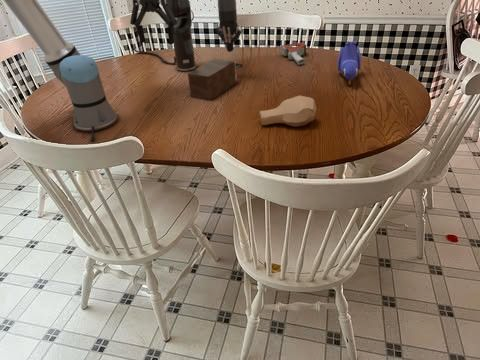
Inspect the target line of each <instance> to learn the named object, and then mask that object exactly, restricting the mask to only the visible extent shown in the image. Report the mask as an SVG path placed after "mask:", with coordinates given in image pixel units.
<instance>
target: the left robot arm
mask: <svg viewBox="0 0 480 360" xmlns="http://www.w3.org/2000/svg"><path fill="white" fill-rule="evenodd" d="M2 1H3V2H4V3H5V5H6V6H7V7H8V8H9V10H10V11H11V12H12V14H13V15H14V16H15V18H16V19H17V20H18V21H19V23H20V24H21V26H22V27H23V28H24V29H25V30H26V32H27V33H28V34H29V36H30V37H31V38H32V39H33V40H34V42H35V44H37V46H38V47H39V48H40V50H41V51H42V53H43V54H44V59H43V61H44V62H45V64H46V65H47V66H48V67H49V69H50V70H51V71H52V73H53V75H54V77H56V79H57V80H58V81H59V82H61V83H62V85H64V86H65V88H66V90H67V93H68V96H69V99H70V101H71V104H72V108H73V114H72V117H73V118H72V119H73V125H74V128H75V129H76V131H78V132H84V133H91V137H90V138H91V139H90V142H93V141H94V139H95V138H94V136H95V134H94V133H95V132H99V131H102V130H105V129H107V128H110V127H111V126H113V125H115V124H116V122H117V121H118V116H117V113H116V111H115V110H114V108H113V107H112V105H111V103H110V102H109V101H108V99H107V96H106V92H105V89H104V87H103V86H104V85H103V83H102V79H101V75H100V71H99V66H98V64H97V62H96V60H95V59H94V58H93V57H91V56H89V55H83V54H81V53H80V52H79V50H78V48H77V47H76V46H75V45H74V43H72V42H69V41H67V40H66V39H65V38H64V36H63V35H62V34H61V33H60V31H59V29H58V28H57V27H56V25H55V23H54V22H53V21H52V19H51V18H50V17H49V15H48V14H47V13H46V11H45V9H44V8H43V7H42V5H41V4H40V2H39V1H38V0H2ZM140 6H141V8H140ZM139 8H140V11H139ZM165 12H166V13H165ZM147 13H156V14H157V15H158V16H159V17H160V18H161V19H162V20H163V22H164V23H165V24H166V25H167V27H166V30H167V31H166V32H167V36H168V43H169V45H174V44H173V43H174V37H173V35H174V34H175V32H174V25H176V24H178V22H177V20H176V18H175V16H174V15H173V13H172V11H171V9H170V8H169V6H168V3H167V0H132V10H131V16H130V22H129V24H130V25H131V26H132V25H133V26H135V27H134V28H135V30H136V34H137V35H138V37H139V41H140V44H144V43H145V42H146V37H145V32H144V27H143V24H142V22H143V20H144V18H145V16H146V14H147ZM166 14H167V15H166Z"/></svg>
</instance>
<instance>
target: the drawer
mask: <svg viewBox="0 0 480 360" xmlns="http://www.w3.org/2000/svg"><path fill="white" fill-rule="evenodd" d="M234 62H235V79H236V81H237V80H238V75H237V69H239V68H243V63H241V62H236V61H234Z"/></svg>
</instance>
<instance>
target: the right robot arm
mask: <svg viewBox="0 0 480 360" xmlns="http://www.w3.org/2000/svg"><path fill="white" fill-rule="evenodd" d="M167 3H168V6H169V8H170V9H171V11H172V13H173V15H174V16H175V18H176V20H177V22H178V24H176V25H174V32H175V34H174V35H173V37H174V43H173V44H172V45H173V50H174V56H173V62H169V61H167V60H164V58H163V57H162V56H161V55H159V54H158V53H155V52H150V51H142V50H141V51H140V50H137V49H136V48H134V47H133V48H132V49H131V52H135V53H137V54H146V55H152V56H155V57H157V58H159V59H160V60H161V61H162V63H165V64H167V65H170V66H172V65H173V66H175V65H176V70H177V71H179V72H189V71H190V72H191V71H193V70H195V69H197V66H196V58H195V51H194V43H193V42H194V41H193V36H192V26H193V24H192V23H193V20H192V9H191V3H190V0H167ZM217 10H218V21H219V24H218V27H216V28H214V31H215V32H216V34H217V35H218V37H219V38H220V40H221V41H222V42H224V43H225V47H226V51H227V52H228V53H232V52H233V51H234V43H235V42H237V41H238V40H239V38H240V36H241V35H242V33H243V31H244V30H243V29H242V28H241V29H240V27H239V25H238V22H237V21H238V15H237V13H238V12H237V0H217ZM164 13H165V14H166V12H165V11H164ZM166 15H167V14H166Z"/></svg>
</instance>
